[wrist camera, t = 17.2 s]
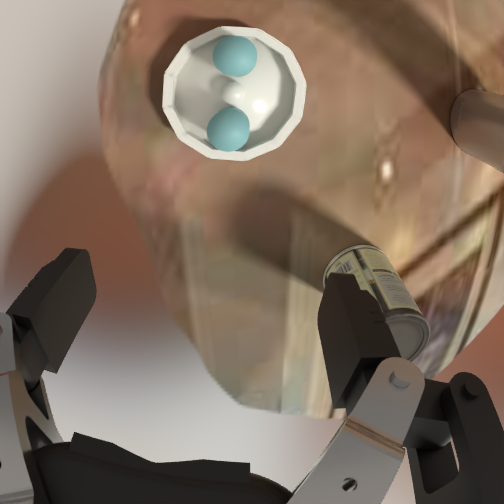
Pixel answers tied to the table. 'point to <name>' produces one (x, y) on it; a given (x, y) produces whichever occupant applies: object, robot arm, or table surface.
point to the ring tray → (234, 93)
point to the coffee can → (385, 295)
